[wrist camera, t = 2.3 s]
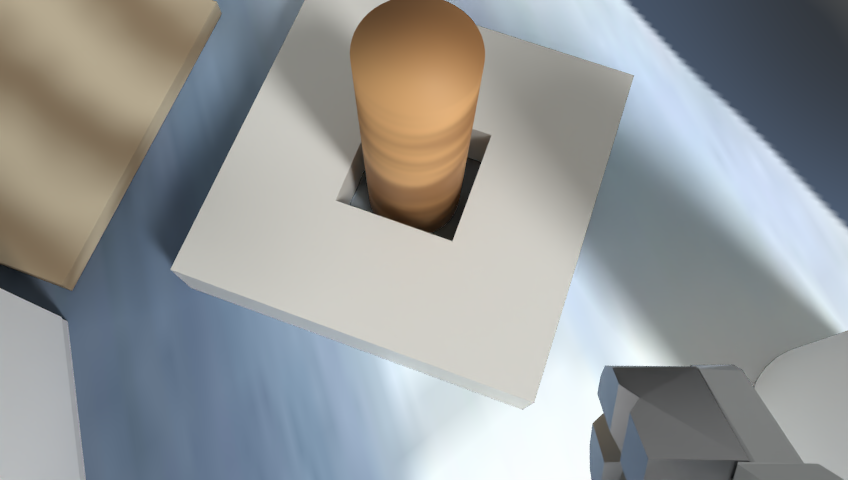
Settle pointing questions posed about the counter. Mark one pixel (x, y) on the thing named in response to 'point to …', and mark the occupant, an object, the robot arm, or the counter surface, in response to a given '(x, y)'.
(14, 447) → the butter dish
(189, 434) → the counter surface
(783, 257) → the counter surface
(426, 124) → the plug
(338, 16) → the socket block
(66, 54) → the board
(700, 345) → the counter surface
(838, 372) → the cylindrical container
